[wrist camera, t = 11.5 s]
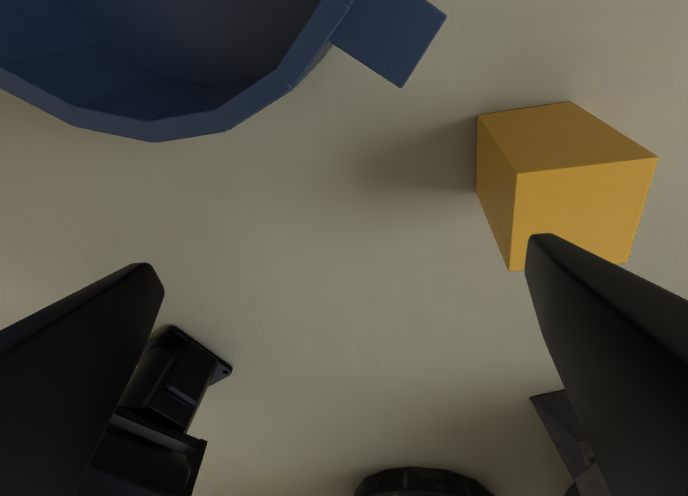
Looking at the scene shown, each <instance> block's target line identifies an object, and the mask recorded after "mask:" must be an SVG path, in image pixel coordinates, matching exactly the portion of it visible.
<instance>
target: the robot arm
mask: <svg viewBox="0 0 688 496" xmlns="http://www.w3.org/2000/svg"><path fill="white" fill-rule="evenodd" d="M524 270H525V277H526V280H527V284H528V287H529V291H530V294H531V298H532V301H533V305H534V308H535V312H536V315H537V319H538V322H539V326H540V329H541V332H542V335H543V338H544V340H545V343H546V345H547V348H548V350H549V353H550V355H551V357H552V359H553V362H554V364H555V366H556V369H557V371H558V373H559V376H560V378H561V380H562V383H563V385H564V387H565V390H566V392H567V394H568V396H569V399H570V401H571V403H572V406H573V408H574V410H575V413H576V415H577V417H578V420H579V422H580V424H581V427H582V429H583V431H584V433H585V436H586V438H587V440H588V443H589V445H590V447H591V450H592V452H593V454H594V457H595V459H596V461H597V464H598V466H599V468H600V470H601V473H602V475H603V477H604V480H605V482H606V484H607V487H608V489H609V491H610V494H611V496H688V300H686V299H684V298H682V297H680V296H678V295H676V294H674V293H672V292H670V291H668V290H666V289H664V288H662V287H660V286H658V285H656V284H654V283H652V282H650V281H647V280H645V279H643V278H641V277H639V276H637V275H635V274H633V273H631V272H629V271H627V270H625V269H623V268H621V267H619V266H617V265H615V264H613V263H611V262H609V261H607V260H605V259H603V258H601V257H599V256H597V255H595V254H593V253H591V252H589V251H587V250H585V249H583V248H581V247H579V246H577V245H575V244H573V243H571V242H569V241H567V240H565V239H563V238H561V237H559V236H557V235H555V234H553V233H540V234H532V235H531V236H530V237H529V239H528V244H527V251H526V258H525V266H524ZM164 293H165V292H164V287H163V285H162V283H161V281H160V279H159V278H158V276H157V274H156V272H155V270H154V268H153V267H152V266H151V265H150V264H149V263H146V262H145V263H133V264H130V265H128V266H126V267H124V268H122V269H120V270H118V271H116V272H114V273H112V274H110V275H108V276H106V277H104V278H102V279H100V280H98V281H96V282H94V283H92V284H90V285H89V286H87V287H85V288H83V289H81V290H79V291H77V292H75V293H73V294H71V295H69V296H67V297H65V298H63V299H61V300H59V301H57V302H55V303H53V304H51V305H49V306H47V307H45V308H43V309H41V310H40V311H38V312H36V313H34V314H32V315H30V316H28V317H26V318H24V319H22V320H20V321H18V322H16V323H14V324H12V325H10V326H8V327H6V328H4V329H2V330H0V496H191V495H192V492H193V488H194V485H195V482H196V478H197V475H198V472H199V469H200V465H201V462H202V459H203V455H204V452H205V449H206V446H207V442H208V441H206V440H203V439H197V438H195V437H193V436H190V435H188V434H186V433H187V431H188V429H189V427H190V425H191V423H192V420H193V418H194V416H195V414H196V412H197V410H198V407H199V405H200V403H201V401H202V399H203V397H204V394H205V392H206V390H207V388H208V387H209V386H210V385H212V384H214V383H216V382H218V381H220V380H222V379H223V378H225V377H227V376H229V375H230V374H231V373H232V370H233V368H232V367H231V366H230V365H229V364H227V363H226V362H224V361H223V360H222V359H220V358H219V357H217V356H216V355H215V354H213V353H212V352H210V351H209V350H208V349H206V348H205V347H203V346H202V345H201V344H199V343H198V342H197V341H195V340H194V339H192V338H191V337H190V336H188V335H187V334H185V333H184V332H183V331H181V330H180V329H178V328H177V327H174V326H170V327H168V328H167V329H165V330H164V331H162V332H161V333H159V334H158V335H157V336H155V337H154V338H152V339H151V340H150V341H148V339H149V337H150V334H151V331H152V328H153V326H154V323H155V320H156V317H157V315H158V312H159V309H160V306H161V304H162V301H163V298H164ZM137 364H138V366H137ZM136 366H137V368H136ZM135 368H136V369H135ZM134 370H135V371H134Z"/></svg>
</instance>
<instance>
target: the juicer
mask: <svg viewBox="0 0 688 496" xmlns="http://www.w3.org/2000/svg"><path fill="white" fill-rule="evenodd" d="M530 399H531V401H532V403H533V405H534V407H535V409H536V411H537V413H538V414H539V416H540V418H541V420H542V422H543V424H544V426H545V428H546V429H547V431H548V433H549V435H550V437H551V439H552V441H553V443H554V444H555V446H556V448H557V450H558V452H559V454H560V456H561V458H562V459H563V461H564V463H565V465H566V467H567V469H568V471H569V473H570V474H571V476H572V478H573V480H574V482H575V484H574V485H572V486H571V487H570V488H569V489H568V491H567V493H566V494H565V496H611V494H610V491H609V489H608V487H607V484H606V482H605V480H604V477H603V475H602V473H601V470H600V468H599V466H598V464H597V461H596V459H595V457H594V454H593V452H592V450H591V447H590V445H589V443H588V440H587V438H586V436H585V433H584V431H583V429H582V427H581V424H580V422H579V420H578V417H577V415H576V413H575V410H574V408H573V406H572V403H571V401H570V399H569V396H568V394H567V392H566V390H564V391H559V392H554V393H550V394H545V395H541V396H536V397H531V398H530Z"/></svg>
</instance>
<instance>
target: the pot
mask: <svg viewBox="0 0 688 496" xmlns="http://www.w3.org/2000/svg"><path fill="white" fill-rule="evenodd" d="M446 17H447V16H446V15H445V14H444V13H443V12H441V11H440V10H438V9H437V8H436V7H434V6H433V5H432V4H430V3H429V2H428V1H426V0H0V88H1V89H3V90H5V91H7V92H9V93H11V94H13V95H14V96H16V97H18V98H20V99H22V100H24V101H26V102H28V103H30V104H32V105H34V106H36V107H38V108H40V109H41V110H43V111H45V112H47V113H49V114H51V115H53V116H55V117H57V118H59V119H61V120H63V121H65V122H66V123H68V124H70V125H72V126H76V127H79V128H84V129H88V130H93V131H98V132H103V133H108V134H113V135H118V136H123V137H127V138H132V139H137V140H142V141H147V142H156V143H157V142H163V141H170V140H176V139H182V138H189V137H195V136H201V135H208V134H214V133H220V132H225V131H227V130H230V129H232V128H233V127H235V126H237V125H238V124H240V123H241V122H243V121H244V120H246V119H248V118H249V117H251V116H252V115H254V114H255V113H257V112H259V111H260V110H262V109H263V108H265V107H266V106H268V105H269V104H271V103H273V102H274V101H276V100H277V99H279V98H280V97H282V96H284V95H285V94H287V93H288V92H290V91H291V90H293V88H294V87H296V86H297V85H298V84H299V83H300V82H301V81H302V80H303V79H304V78H305V77H306V76H307V74H308V73H309V72H310V71H311V70H312V69H313V68H314V67H315V66H316V65H317V64H318V63H319V62H320V61H321V60H322V59H323V58H324V56H325V55H326V54H327V52H328V51H329V50H330V48H331V47H332V45H333V44H334V45H335V46H337V47H338V48H340V49H341V50H343V51H344V52H346V53H347V54H349V55H350V56H352V57H353V58H355V59H357V60H358V61H360V62H361V63H363V64H364V65H366V66H367V67H369V68H370V69H372V70H373V71H375V72H376V73H378V74H379V75H381V76H382V77H384V78H385V79H387V80H388V81H390V82H391V83H393V84H394V85H396V86H397V87H399V88H402V87H403V86H404V84H405V83H406V81H407V79H408V78H409V76H410V75H411V73H412V72H413V70H414V68H415V67H416V65H417V64H418V62H419V60H420V59H421V57H422V56H423V54H424V53H425V51H426V49H427V48H428V46H429V45H430V43H431V42H432V40H433V38H434V37H435V35H436V34H437V32H438V30H439V29H440V27H441V26H442V24H443V23H444V21H445V19H446Z"/></svg>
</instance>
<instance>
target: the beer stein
mask: <svg viewBox="0 0 688 496" xmlns="http://www.w3.org/2000/svg"><path fill="white" fill-rule="evenodd" d="M355 496H494V495H493V494H492V493H490V492H489V491H488V490H487V489H486V488H485V487H483V486H482V485H481V484H480V483H479V482H477V481H476V480H473V479H470V478H468V477H465V476H462V475H459V474H456V473H453V472H450V471H447V470H440V469H428V468H417V467H407V468H399V469H391V470H385V471H382V472H379V473H377V474H374V475H371V476H369V477H366V478H365V479H364V480H363V482H362V483H361V484H360V485H359V487H358V488H357V489H356V492H355Z"/></svg>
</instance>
